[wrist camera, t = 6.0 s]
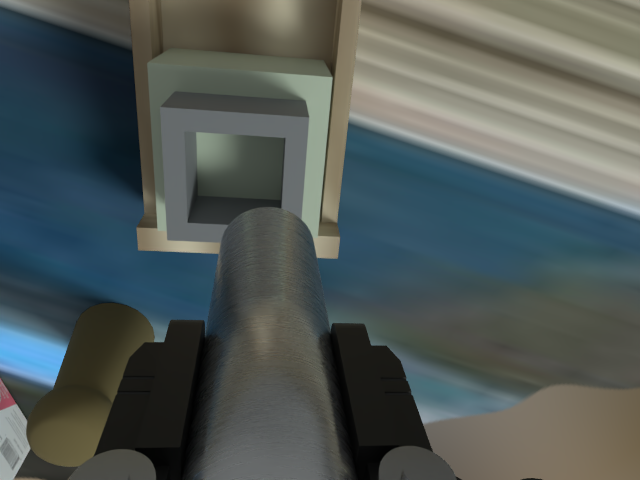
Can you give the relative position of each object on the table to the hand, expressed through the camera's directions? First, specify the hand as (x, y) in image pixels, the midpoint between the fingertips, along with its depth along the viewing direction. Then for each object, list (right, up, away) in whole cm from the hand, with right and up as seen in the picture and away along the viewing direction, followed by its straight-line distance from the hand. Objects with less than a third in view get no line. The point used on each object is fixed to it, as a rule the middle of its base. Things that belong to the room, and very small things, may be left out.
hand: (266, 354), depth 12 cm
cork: (-15, -5, +29) cm, 33 cm away
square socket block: (-3, +10, +21) cm, 23 cm away
